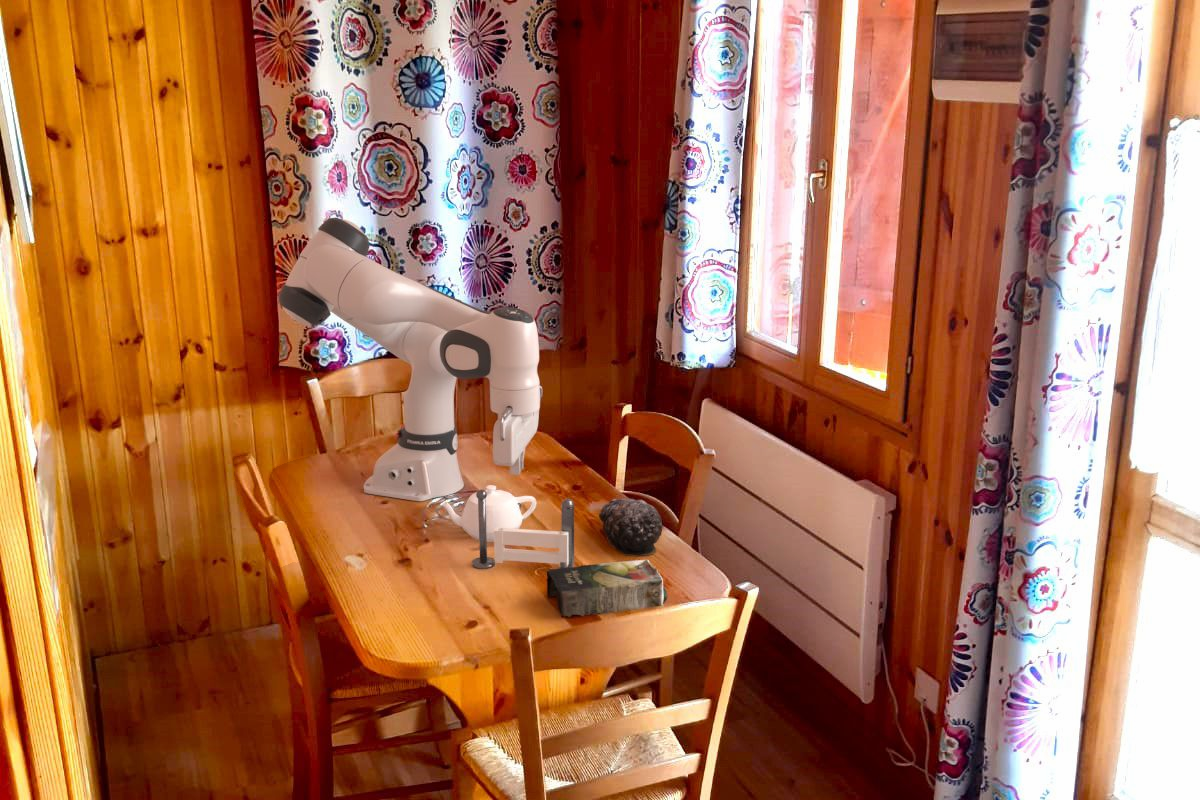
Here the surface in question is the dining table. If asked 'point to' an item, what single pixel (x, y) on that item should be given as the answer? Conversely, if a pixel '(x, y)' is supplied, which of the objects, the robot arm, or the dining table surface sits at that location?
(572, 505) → the latch post
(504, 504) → the teapot
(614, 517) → the pine cone
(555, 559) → the gate
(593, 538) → the dining table surface
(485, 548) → the hinge post
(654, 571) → the juice carton
